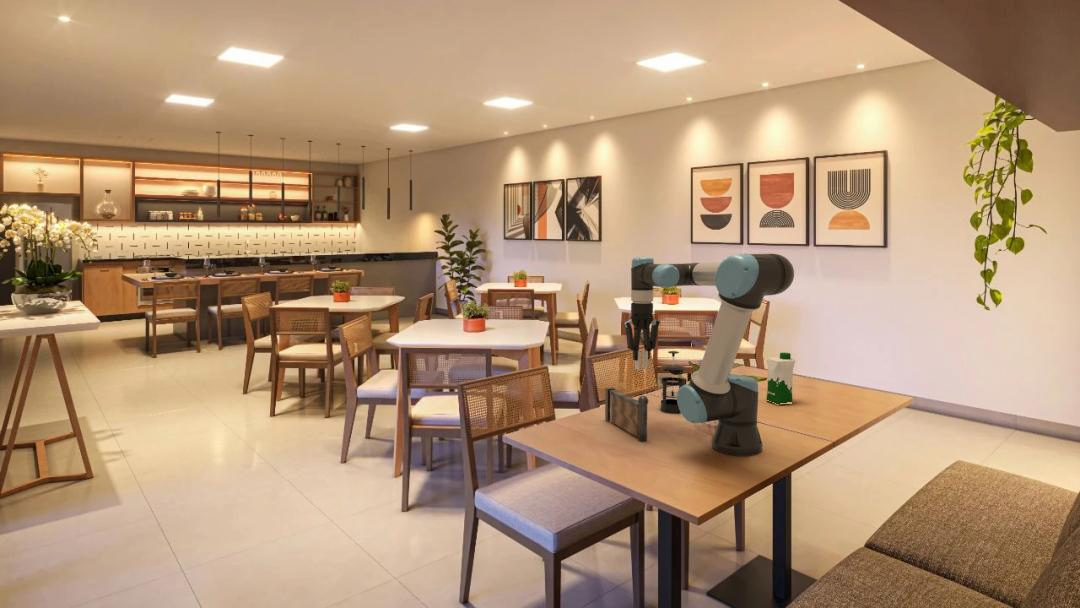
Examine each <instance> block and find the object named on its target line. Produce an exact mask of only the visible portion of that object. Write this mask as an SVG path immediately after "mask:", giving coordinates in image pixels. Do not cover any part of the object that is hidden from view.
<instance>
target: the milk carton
mask: <svg viewBox="0 0 1080 608" xmlns="http://www.w3.org/2000/svg"><path fill="white" fill-rule="evenodd" d="M791 357H792V355H791V353H790V352H780V353H779V356H772V357H766V363H767V393H766V400H769V401H771V402H774V403H776V404H780V403H787V402H792V403H793V375H794V374H793V373H794V367H795V364H796V359H792V358H791ZM766 400H765V401H766Z"/></svg>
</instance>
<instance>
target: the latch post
mask: <svg viewBox="0 0 1080 608" xmlns="http://www.w3.org/2000/svg"><path fill="white" fill-rule="evenodd" d="M610 390H616V388H615V387H613V386H612V387H605V389H604V391H605V392H604V403H605V404H604V407H605V409H604V417H605V418H604V421H605V422H608V423H609V422H611V421H610Z"/></svg>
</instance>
